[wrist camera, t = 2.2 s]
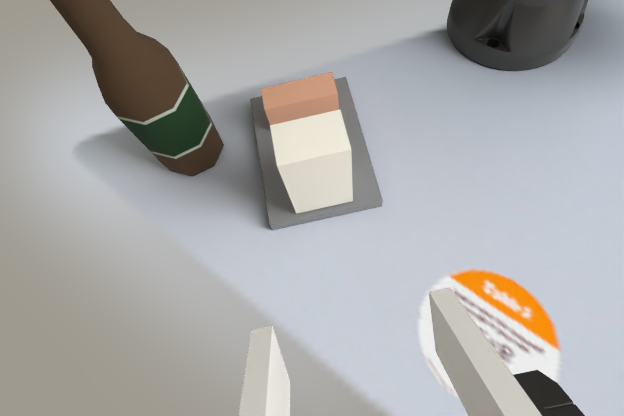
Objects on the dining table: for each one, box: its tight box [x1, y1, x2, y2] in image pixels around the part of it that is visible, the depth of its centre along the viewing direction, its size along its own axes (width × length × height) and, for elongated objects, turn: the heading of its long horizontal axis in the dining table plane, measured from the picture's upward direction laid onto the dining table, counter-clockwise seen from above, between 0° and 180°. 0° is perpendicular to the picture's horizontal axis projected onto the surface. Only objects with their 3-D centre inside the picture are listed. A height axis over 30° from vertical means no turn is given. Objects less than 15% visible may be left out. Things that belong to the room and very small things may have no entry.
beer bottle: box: [50, 0, 224, 176], centre depth 34 cm, size 8×8×24 cm
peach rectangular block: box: [261, 72, 339, 125], centre depth 41 cm, size 8×3×4 cm, turn 101°
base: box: [250, 77, 382, 230], centre depth 42 cm, size 12×17×2 cm
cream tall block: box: [270, 110, 353, 214], centre depth 34 cm, size 6×4×10 cm, turn 101°
